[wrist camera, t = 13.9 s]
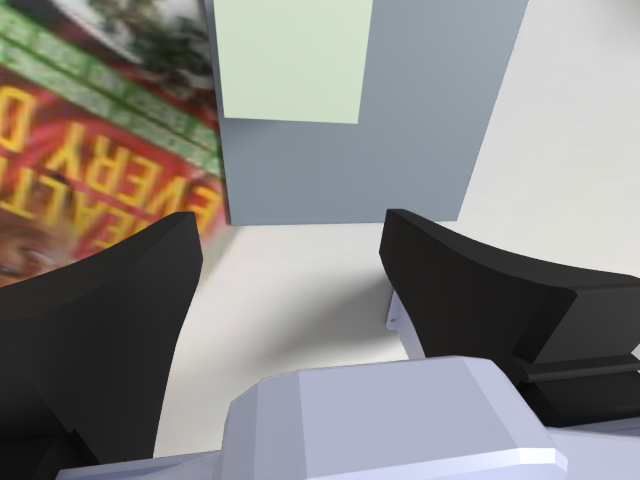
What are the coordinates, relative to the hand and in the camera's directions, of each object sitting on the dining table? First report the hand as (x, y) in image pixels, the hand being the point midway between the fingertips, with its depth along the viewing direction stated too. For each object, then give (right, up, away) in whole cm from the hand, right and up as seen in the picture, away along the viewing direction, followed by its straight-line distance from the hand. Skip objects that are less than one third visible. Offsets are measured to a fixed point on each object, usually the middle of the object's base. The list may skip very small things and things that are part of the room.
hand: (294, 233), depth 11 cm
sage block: (0, +8, +1) cm, 8 cm away
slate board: (+4, +9, +7) cm, 12 cm away
